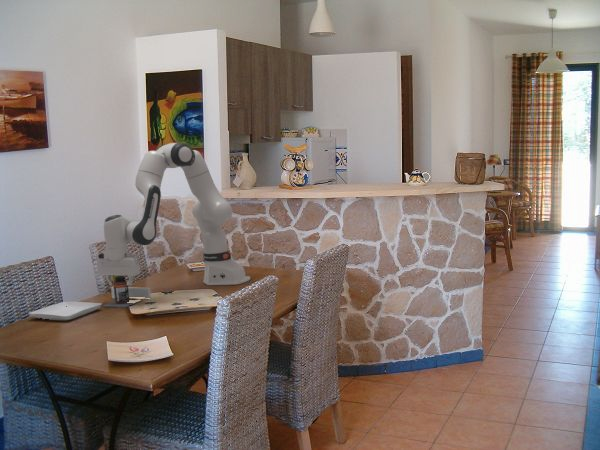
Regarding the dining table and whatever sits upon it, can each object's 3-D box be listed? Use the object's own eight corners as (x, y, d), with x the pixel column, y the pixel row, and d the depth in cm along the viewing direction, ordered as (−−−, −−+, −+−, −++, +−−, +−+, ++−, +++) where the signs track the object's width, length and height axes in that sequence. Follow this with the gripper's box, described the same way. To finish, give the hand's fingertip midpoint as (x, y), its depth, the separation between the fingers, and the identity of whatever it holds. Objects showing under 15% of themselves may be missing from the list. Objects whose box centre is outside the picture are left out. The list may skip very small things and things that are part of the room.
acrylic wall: (151, 298, 318) (149, 287, 317) (149, 299, 316) (148, 288, 316) (113, 297, 326) (112, 286, 325) (112, 298, 325) (110, 287, 324)
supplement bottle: (116, 301, 315) (113, 275, 313) (130, 300, 315) (127, 274, 314) (114, 304, 309) (111, 278, 307) (128, 303, 309) (125, 277, 308)
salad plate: (104, 310, 304) (103, 302, 304) (68, 323, 285) (67, 315, 285) (65, 308, 313) (64, 300, 313) (28, 321, 294) (27, 313, 294)
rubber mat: (142, 300, 315) (142, 299, 315) (125, 307, 304) (125, 306, 304) (119, 300, 320) (119, 298, 320) (102, 306, 309) (102, 305, 309)
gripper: (141, 252, 308) (145, 284, 310) (102, 252, 316) (106, 283, 318) (132, 254, 302) (136, 287, 304) (93, 254, 310) (96, 286, 312)
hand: (120, 285), depth 311 cm, fingers open, 8 cm apart
